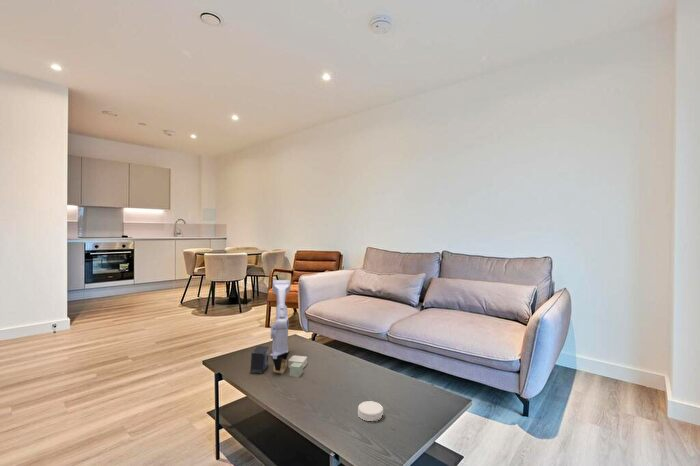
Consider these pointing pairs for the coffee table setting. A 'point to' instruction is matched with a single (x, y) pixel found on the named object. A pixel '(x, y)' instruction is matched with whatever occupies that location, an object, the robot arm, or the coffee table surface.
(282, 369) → the oak cube
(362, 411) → the coaster
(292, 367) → the sage cube
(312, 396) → the coffee table surface
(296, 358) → the base block
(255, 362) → the small box
